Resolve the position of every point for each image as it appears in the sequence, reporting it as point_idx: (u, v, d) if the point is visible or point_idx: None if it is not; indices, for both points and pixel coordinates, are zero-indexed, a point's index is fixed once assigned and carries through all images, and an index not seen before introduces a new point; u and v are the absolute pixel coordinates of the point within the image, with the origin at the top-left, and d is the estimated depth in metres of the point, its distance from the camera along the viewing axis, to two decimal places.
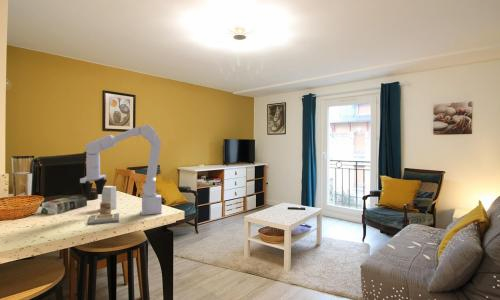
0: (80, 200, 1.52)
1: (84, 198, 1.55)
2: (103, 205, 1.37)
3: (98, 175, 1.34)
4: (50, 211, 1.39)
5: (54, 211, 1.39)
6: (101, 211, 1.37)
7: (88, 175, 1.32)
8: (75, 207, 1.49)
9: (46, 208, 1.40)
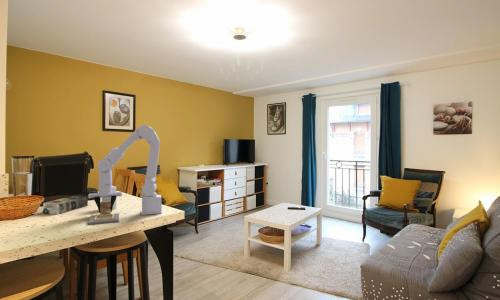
0: (81, 199, 1.52)
1: (85, 198, 1.55)
2: (103, 205, 1.37)
3: (104, 192, 1.36)
4: (52, 211, 1.39)
5: (56, 211, 1.39)
6: (101, 211, 1.37)
7: None
8: (76, 207, 1.49)
9: (48, 208, 1.40)
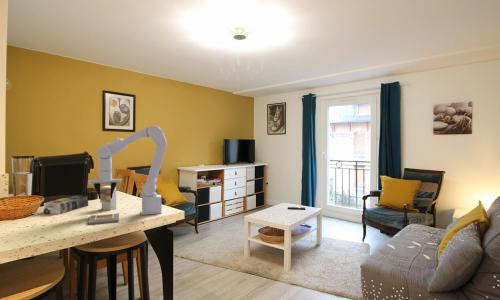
0: (81, 199, 1.52)
1: (85, 198, 1.55)
2: (103, 191, 1.37)
3: (104, 179, 1.36)
4: (53, 211, 1.39)
5: (57, 211, 1.39)
6: (101, 198, 1.36)
7: None
8: (77, 207, 1.49)
9: (48, 208, 1.40)
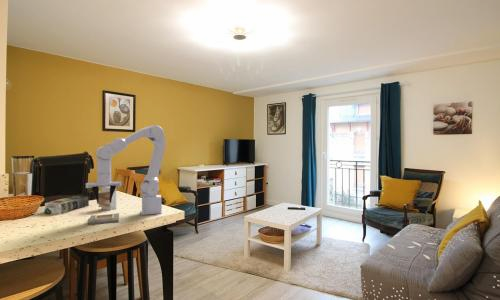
0: (82, 199, 1.52)
1: (86, 198, 1.55)
2: (102, 195, 1.28)
3: (103, 182, 1.27)
4: (54, 211, 1.39)
5: (58, 211, 1.39)
6: (99, 202, 1.27)
7: None
8: (78, 207, 1.49)
9: (49, 208, 1.40)
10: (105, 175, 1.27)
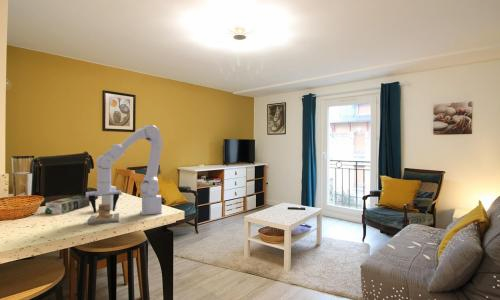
0: (83, 199, 1.52)
1: (87, 198, 1.55)
2: (102, 207, 1.28)
3: (103, 191, 1.27)
4: (55, 211, 1.39)
5: (58, 211, 1.39)
6: (100, 214, 1.28)
7: None
8: (78, 207, 1.49)
9: (50, 208, 1.40)
10: (105, 184, 1.27)
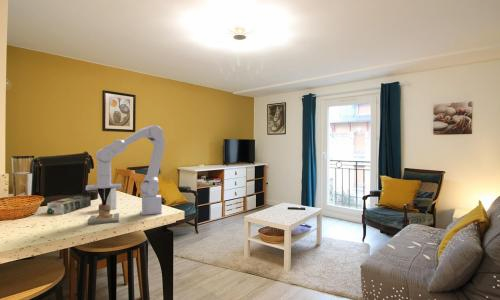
0: (84, 199, 1.52)
1: (88, 198, 1.55)
2: (102, 207, 1.28)
3: (103, 184, 1.27)
4: (57, 211, 1.39)
5: (61, 211, 1.39)
6: (100, 214, 1.28)
7: None
8: (80, 207, 1.49)
9: (52, 208, 1.40)
10: (105, 177, 1.27)
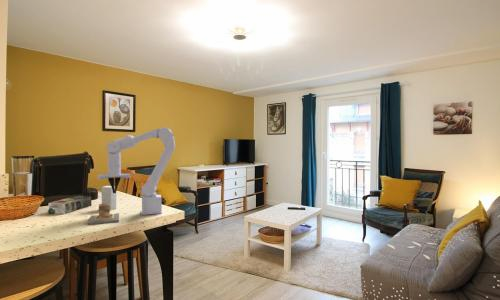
0: (85, 199, 1.53)
1: (89, 198, 1.56)
2: (102, 207, 1.28)
3: (113, 173, 1.38)
4: (58, 211, 1.39)
5: (62, 211, 1.39)
6: (100, 214, 1.28)
7: (108, 172, 1.39)
8: (81, 207, 1.50)
9: (53, 208, 1.40)
10: (115, 167, 1.38)
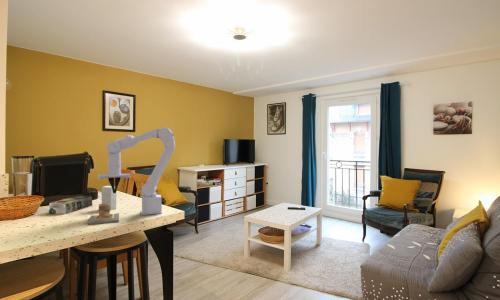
0: (86, 199, 1.53)
1: (90, 198, 1.56)
2: (102, 207, 1.28)
3: (113, 173, 1.38)
4: (59, 211, 1.39)
5: (63, 211, 1.39)
6: (100, 214, 1.28)
7: None
8: (82, 207, 1.50)
9: (54, 208, 1.40)
10: (115, 167, 1.38)
